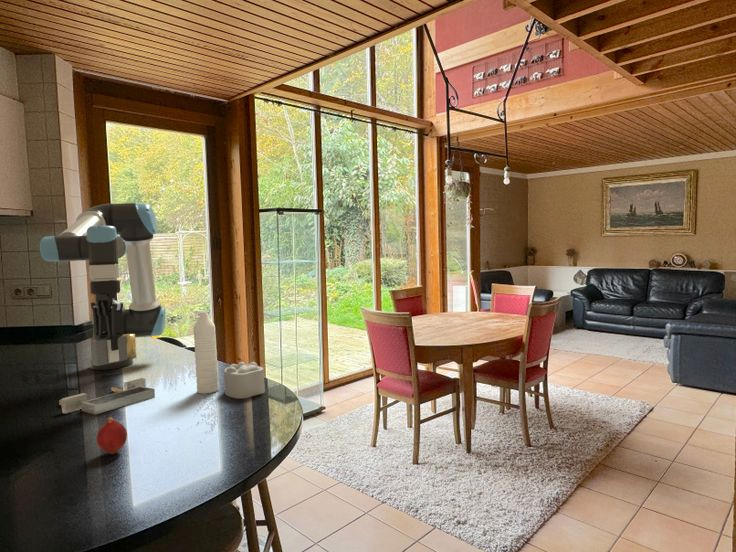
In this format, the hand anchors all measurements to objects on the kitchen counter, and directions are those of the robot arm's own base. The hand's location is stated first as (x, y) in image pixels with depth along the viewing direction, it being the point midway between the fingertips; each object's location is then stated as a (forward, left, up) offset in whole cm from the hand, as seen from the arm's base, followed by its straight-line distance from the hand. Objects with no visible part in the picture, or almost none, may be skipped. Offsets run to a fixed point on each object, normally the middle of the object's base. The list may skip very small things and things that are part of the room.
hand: (110, 360), depth 139 cm
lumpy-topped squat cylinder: (-27, +25, -13) cm, 39 cm away
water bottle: (-23, +13, -13) cm, 29 cm away
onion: (+19, +35, -13) cm, 42 cm away
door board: (-1, -6, -13) cm, 14 cm away
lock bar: (-2, 0, 0) cm, 2 cm away
